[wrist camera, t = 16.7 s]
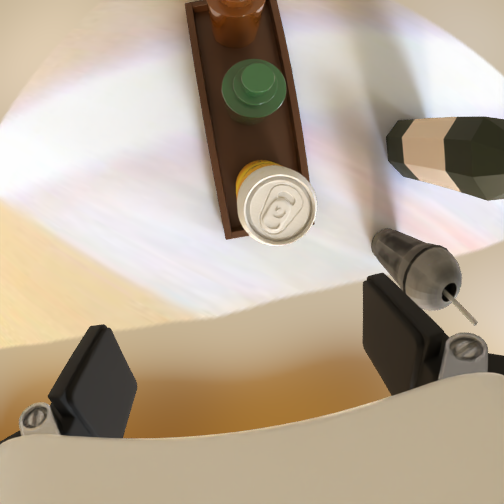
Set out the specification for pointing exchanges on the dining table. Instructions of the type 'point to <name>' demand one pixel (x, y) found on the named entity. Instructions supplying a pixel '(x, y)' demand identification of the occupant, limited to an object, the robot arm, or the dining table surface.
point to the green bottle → (252, 91)
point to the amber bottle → (235, 21)
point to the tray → (231, 133)
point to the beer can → (274, 203)
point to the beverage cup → (420, 270)
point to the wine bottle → (451, 153)
